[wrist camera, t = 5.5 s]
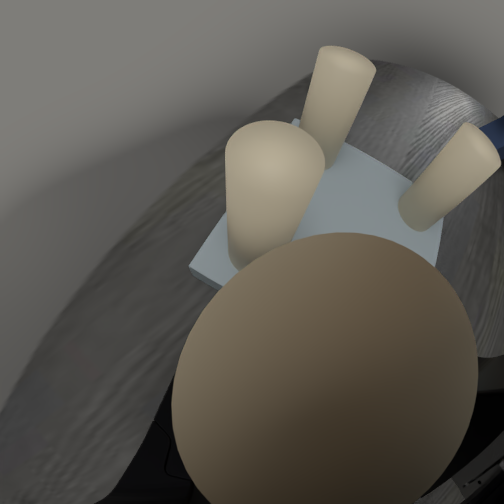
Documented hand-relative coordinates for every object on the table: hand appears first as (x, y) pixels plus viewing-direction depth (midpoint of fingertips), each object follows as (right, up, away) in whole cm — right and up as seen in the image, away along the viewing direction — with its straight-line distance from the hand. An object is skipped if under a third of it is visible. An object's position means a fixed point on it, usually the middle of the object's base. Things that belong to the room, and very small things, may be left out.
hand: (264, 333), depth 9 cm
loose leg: (0, -4, +6) cm, 7 cm away
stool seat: (+7, +4, +15) cm, 17 cm away
